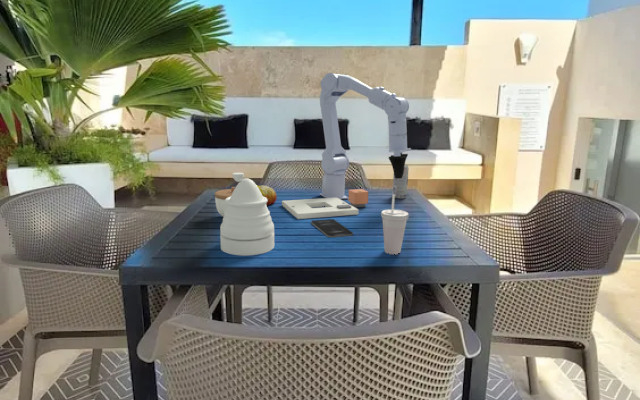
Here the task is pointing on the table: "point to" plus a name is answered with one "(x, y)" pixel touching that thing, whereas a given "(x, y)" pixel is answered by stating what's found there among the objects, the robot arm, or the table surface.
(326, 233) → the smartphone
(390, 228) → the smoothie
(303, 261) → the table surface
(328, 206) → the socket plate
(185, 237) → the table surface
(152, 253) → the table surface
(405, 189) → the energy drink
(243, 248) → the honey pot
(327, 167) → the robot arm
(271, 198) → the fruit
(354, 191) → the orange cube
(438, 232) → the table surface
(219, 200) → the lidded jar
